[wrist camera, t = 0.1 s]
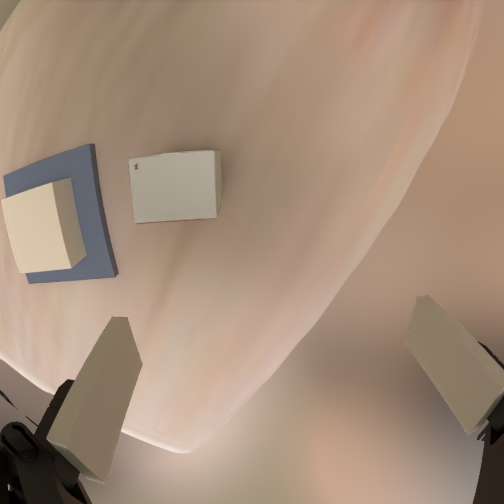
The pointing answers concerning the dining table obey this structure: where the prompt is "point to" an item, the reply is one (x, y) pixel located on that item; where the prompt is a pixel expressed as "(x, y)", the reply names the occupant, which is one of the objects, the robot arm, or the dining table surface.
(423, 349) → the robot arm
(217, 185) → the small box
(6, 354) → the dining table surface
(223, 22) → the dining table surface
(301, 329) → the dining table surface
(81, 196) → the build board
